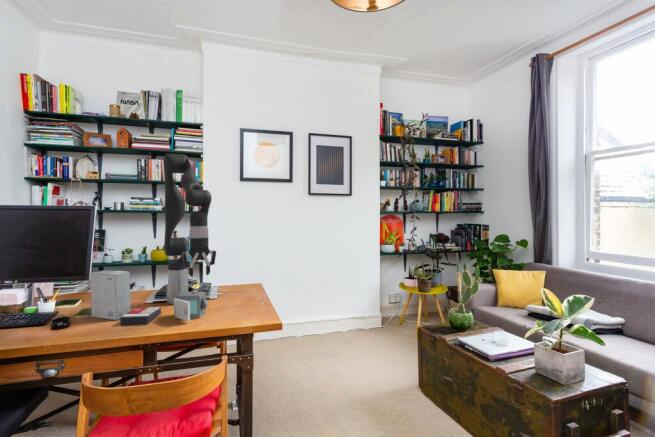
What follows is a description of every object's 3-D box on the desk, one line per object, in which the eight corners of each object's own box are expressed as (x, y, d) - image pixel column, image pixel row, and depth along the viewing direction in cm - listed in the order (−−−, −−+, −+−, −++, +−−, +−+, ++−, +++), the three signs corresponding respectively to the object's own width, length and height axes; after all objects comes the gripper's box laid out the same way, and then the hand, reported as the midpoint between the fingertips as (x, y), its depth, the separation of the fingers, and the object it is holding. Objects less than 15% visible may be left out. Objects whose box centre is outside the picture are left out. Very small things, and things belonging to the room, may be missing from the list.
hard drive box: (131, 315, 152) (130, 271, 152) (116, 320, 145) (114, 274, 144) (106, 311, 158) (105, 269, 157) (90, 317, 150) (89, 272, 150)
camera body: (173, 319, 147) (173, 294, 146) (181, 313, 155) (181, 290, 155) (203, 319, 147) (202, 294, 147) (209, 313, 155) (208, 289, 155)
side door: (174, 317, 146) (173, 299, 145) (177, 317, 147) (177, 298, 147) (186, 321, 141) (186, 302, 140) (190, 320, 142) (189, 302, 142)
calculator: (161, 306, 155) (147, 314, 140) (161, 315, 155) (147, 325, 140) (136, 306, 154) (119, 315, 139) (136, 316, 154) (119, 326, 139)
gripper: (182, 238, 137) (183, 279, 138) (218, 236, 145) (218, 275, 145) (179, 236, 144) (180, 275, 144) (214, 235, 151) (214, 272, 152)
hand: (199, 275), depth 145 cm, fingers open, 5 cm apart
